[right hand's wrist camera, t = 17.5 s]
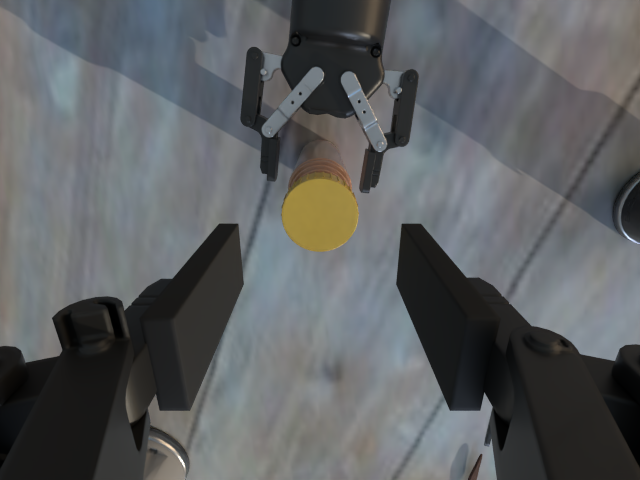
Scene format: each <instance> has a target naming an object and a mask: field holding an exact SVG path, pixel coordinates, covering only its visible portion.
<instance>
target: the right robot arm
mask: <svg viewBox="0 0 640 480" xmlns="http://www.w3.org/2000/svg"><path fill="white" fill-rule="evenodd" d="M243 285H244V282H243V271H242V260H241V249H240V238H239V227H238V224H219V225H218V226H217V227H216V228H215V229H214V230H213V232H212V233H211V234H210V235H209V236H208V238H207V239H206V240H205V241H204V242H203V243H202V245H201V246H200V247H199V248H198V249H197V251H196V252H195V253H194V254H193V255H192V256H191V258H190V259H189V260H188V261H187V262H186V264H185V265H184V266H183V267H182V268H181V269H180V271H179V272H178V273H177V274H176V275H175V277H174V278H173V279H160V280H159V281H157V282H155V283H153V284H151V285H150V286H148V287H147V288H146V289H145V290H144V291H143V292H142V293H141V294H140V295H139V298H136V299H135V300H134V301H133V303H132V305H131V306H129V307H128V308H127V309H126V310H125V311H124V308H123V304H122V301H121V300H119V299H118V298H114V297H108V296H107V297H95V298H90V299H86V300H82V301H79V302H76V303H74V304H71V305H69V306H67V307H65V308H64V309H62V310H60V311H59V312H58V313H57V314H56V315H55V316H54V317H53V318H52V319H53V322H54V325H55V328H56V331H57V334H58V337H59V340H60V343H61V347H62V352H61V354H60V356H57V357H52V358H47V359H42V360H37V361H32V362H27V363H25V360H24V357H23V355H22V352H21V350H19V349H18V348H16V347H10V346H2V347H0V480H186V477H187V474H188V471H189V459H188V456H187V454H186V452H185V450H184V449H183V447H182V446H181V445H180V444H179V443H178V442H177V441H176V440H175V439H173V438H172V437H170V436H169V435H167V434H165V433H163V432H161V431H159V430H156V429H154V428H150V417H149V412H148V406H149V405H150V403H151V401H152V399H153V398H154V396H155V394H156V396H157V400H158V405H159V409H160V411H190V409H191V407H192V405H193V402H194V400H195V398H196V395H197V393H198V391H199V388H200V386H201V384H202V381H203V379H204V376H205V374H206V372H207V369H208V367H209V365H210V362H211V360H212V358H213V355H214V353H215V351H216V348H217V346H218V344H219V341H220V339H221V336H222V334H223V332H224V329H225V327H226V325H227V322H228V320H229V318H230V315H231V313H232V311H233V308H234V306H235V304H236V301H237V299H238V296H239V294H240V292H241V289H242V287H243ZM396 285H397V287H398V289H399V292H400V294H401V296H402V299H403V301H404V304H405V306H406V308H407V311H408V313H409V315H410V318H411V320H412V322H413V325H414V327H415V329H416V332H417V334H418V336H419V339H420V341H421V344H422V346H423V348H424V351H425V353H426V355H427V358H428V360H429V362H430V365H431V367H432V369H433V372H434V374H435V376H436V379H437V381H438V384H439V386H440V388H441V391H442V393H443V395H444V398H445V400H446V402H447V405H448V407H449V409H450V411H480V409H481V405H482V400H483V396H484V392H485V394H486V396H487V397H488V399H489V401H490V403H491V404H492V406H493V408H492V412H491V416H490V420H489V425H488V429H487V433H486V437H485V443H484V445H485V446H488V447H489V445H490V441H491V439H492V444H493V452H494V460H495V468H496V475H497V480H640V345H625V346H624V347H622V348H620V350H619V352H618V355H617V357H616V360H615V361H611V360H606V359H601V358H596V357H591V356H586V355H581V354H579V352H578V350H577V349H576V347H575V346H574V345H573V344H572V343H571V342H570V341H569V340H567V339H566V338H564V337H563V336H561V335H559V334H557V333H555V332H552V331H550V330H547V329H543V328H539V327H533V326H531V325H530V324H529V323H528V322H527V321H526V320H525V319H524V318H523V317H522V316H521V315H520V314H519V313H518V311H517V310H516V309H515V308H514V307H513V306H512V305H511V304H509V302H508V301H507V300H506V299H505V298H504V297H502V296H501V294H500V293H499V292H498V291H497V289H496V288H495V287H494V286H493V285H491V284H489V283H487V282H486V281H484V280H482V279H480V278H466V277H465V275H464V274H463V273H462V272H461V271H460V269H459V268H458V267H457V266H456V265H455V264H454V262H453V261H452V260H451V259H450V258H449V256H448V255H447V254H446V253H445V252H444V251H443V249H442V248H441V247H440V246H439V245H438V243H437V242H436V241H435V240H434V239H433V238H432V236H431V235H430V234H429V233H428V232H427V230H426V229H425V228H424V227H423V226H422V225H421V224H402V227H401V238H400V249H399V260H398V271H397V282H396Z"/></svg>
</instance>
